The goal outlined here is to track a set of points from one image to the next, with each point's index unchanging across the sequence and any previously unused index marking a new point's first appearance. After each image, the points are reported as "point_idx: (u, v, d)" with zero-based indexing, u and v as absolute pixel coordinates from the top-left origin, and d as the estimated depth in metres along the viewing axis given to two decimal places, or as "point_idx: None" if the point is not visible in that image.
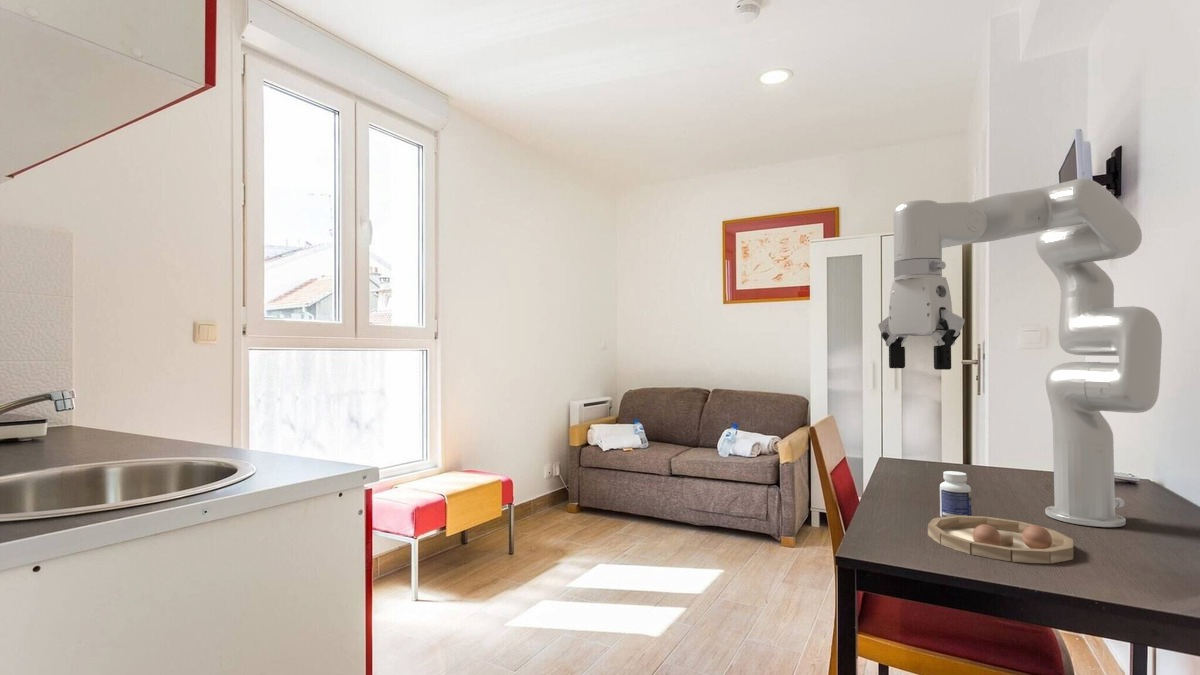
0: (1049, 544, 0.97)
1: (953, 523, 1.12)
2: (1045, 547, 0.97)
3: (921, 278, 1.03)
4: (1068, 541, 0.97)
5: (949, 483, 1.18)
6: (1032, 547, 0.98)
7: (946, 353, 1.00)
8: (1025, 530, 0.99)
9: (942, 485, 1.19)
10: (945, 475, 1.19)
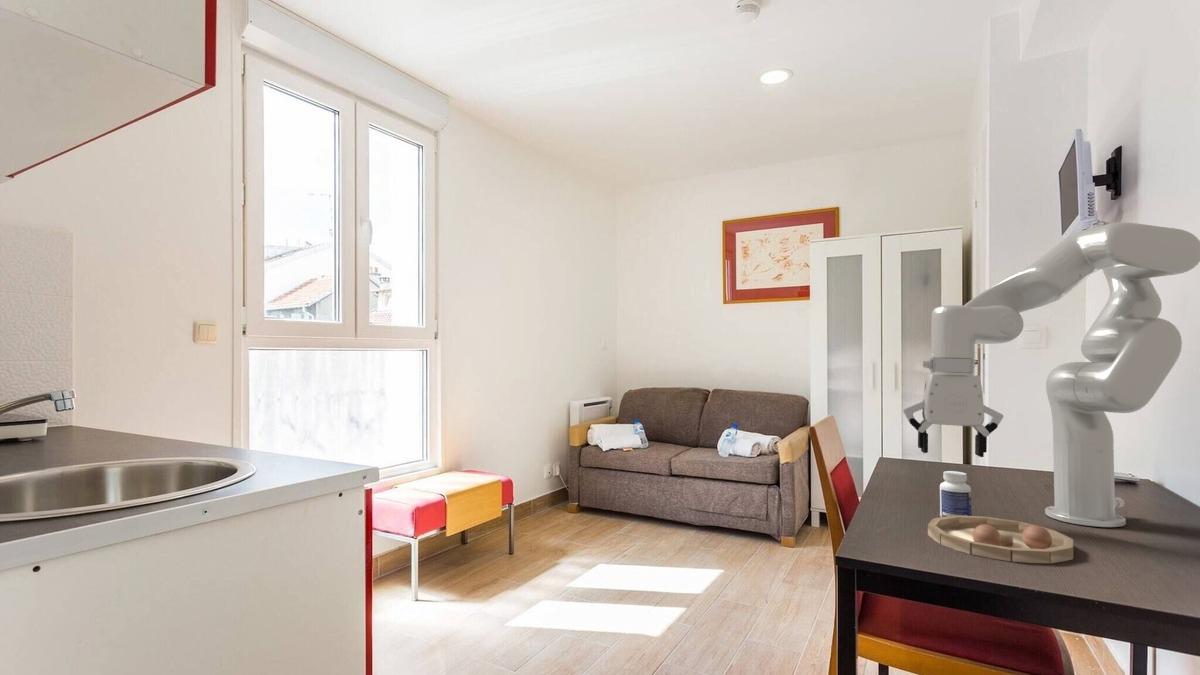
0: (1049, 544, 0.97)
1: (953, 523, 1.12)
2: (1045, 547, 0.97)
3: None
4: (1068, 541, 0.97)
5: (949, 483, 1.18)
6: (1032, 547, 0.98)
7: (918, 437, 1.21)
8: (1025, 530, 0.99)
9: (942, 485, 1.19)
10: (945, 475, 1.19)
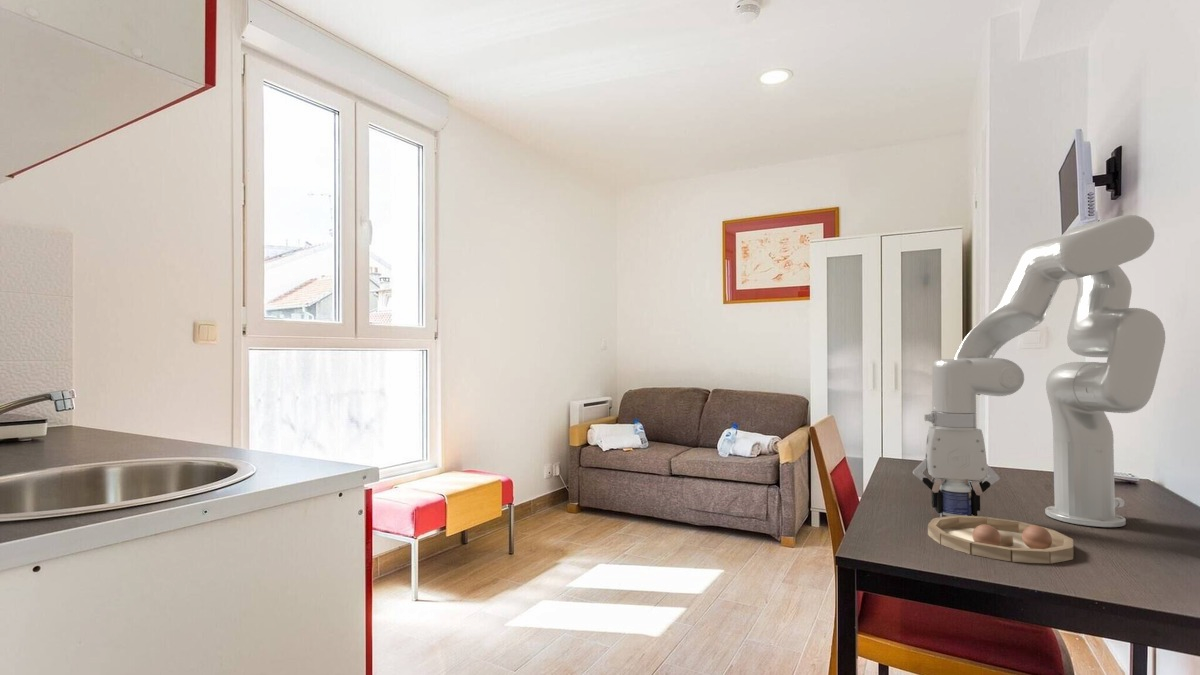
0: (1049, 544, 0.97)
1: (953, 523, 1.12)
2: (1045, 547, 0.97)
3: None
4: (1068, 541, 0.97)
5: (949, 483, 1.18)
6: (1032, 547, 0.98)
7: (932, 497, 1.20)
8: (1025, 530, 0.99)
9: (942, 485, 1.19)
10: None
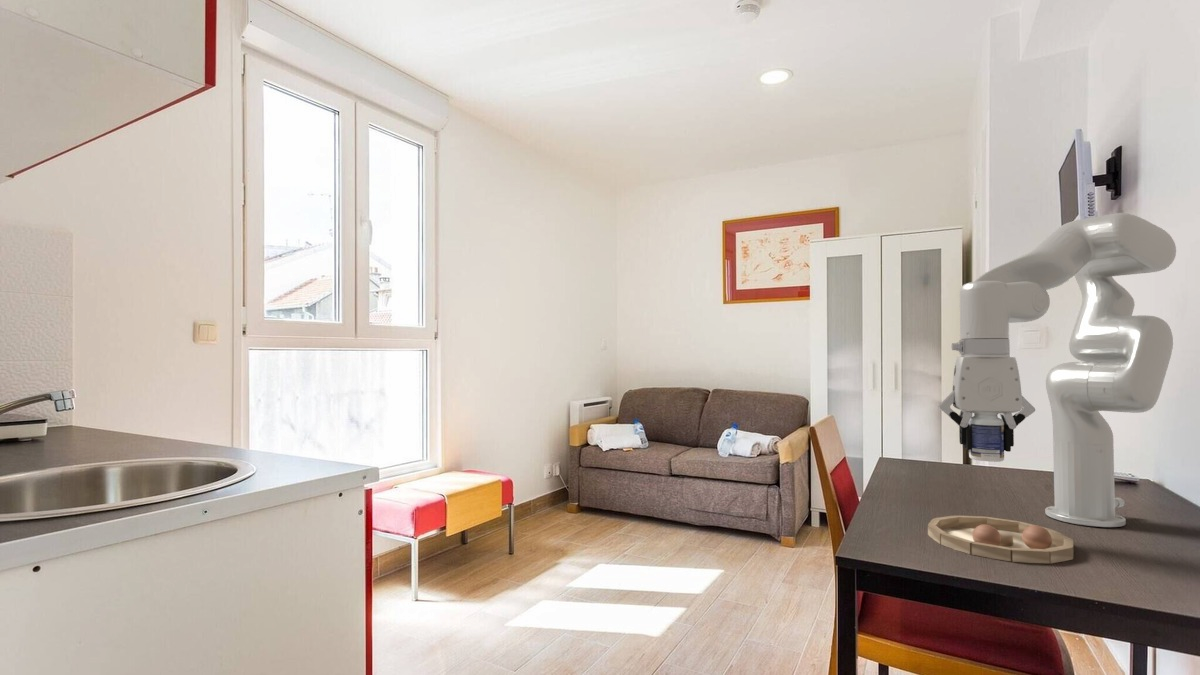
0: (1049, 544, 0.97)
1: (953, 523, 1.12)
2: (1045, 547, 0.97)
3: None
4: (1068, 541, 0.97)
5: (979, 416, 1.08)
6: (1032, 547, 0.98)
7: (960, 433, 1.10)
8: (1025, 530, 0.99)
9: (971, 419, 1.09)
10: None
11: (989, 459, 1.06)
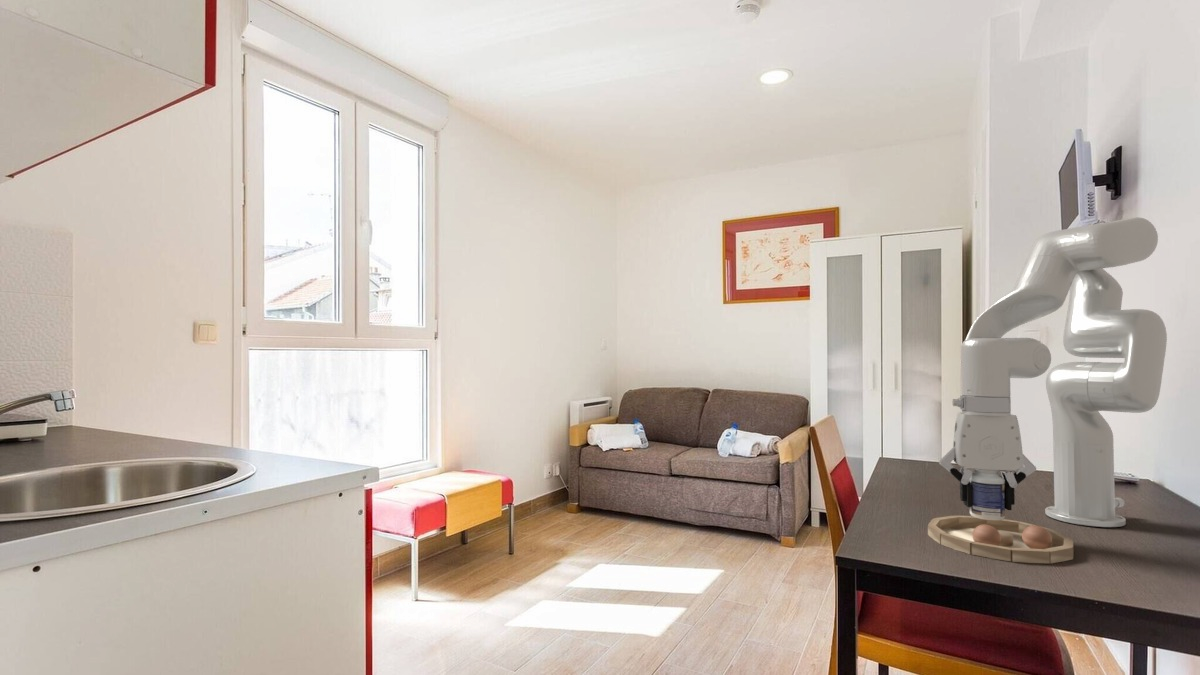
0: (1049, 544, 0.97)
1: (953, 523, 1.12)
2: (1045, 547, 0.97)
3: None
4: (1068, 541, 0.97)
5: (980, 474, 1.08)
6: (1032, 547, 0.98)
7: (961, 489, 1.10)
8: (1025, 530, 0.99)
9: (972, 476, 1.08)
10: None
11: (990, 518, 1.06)
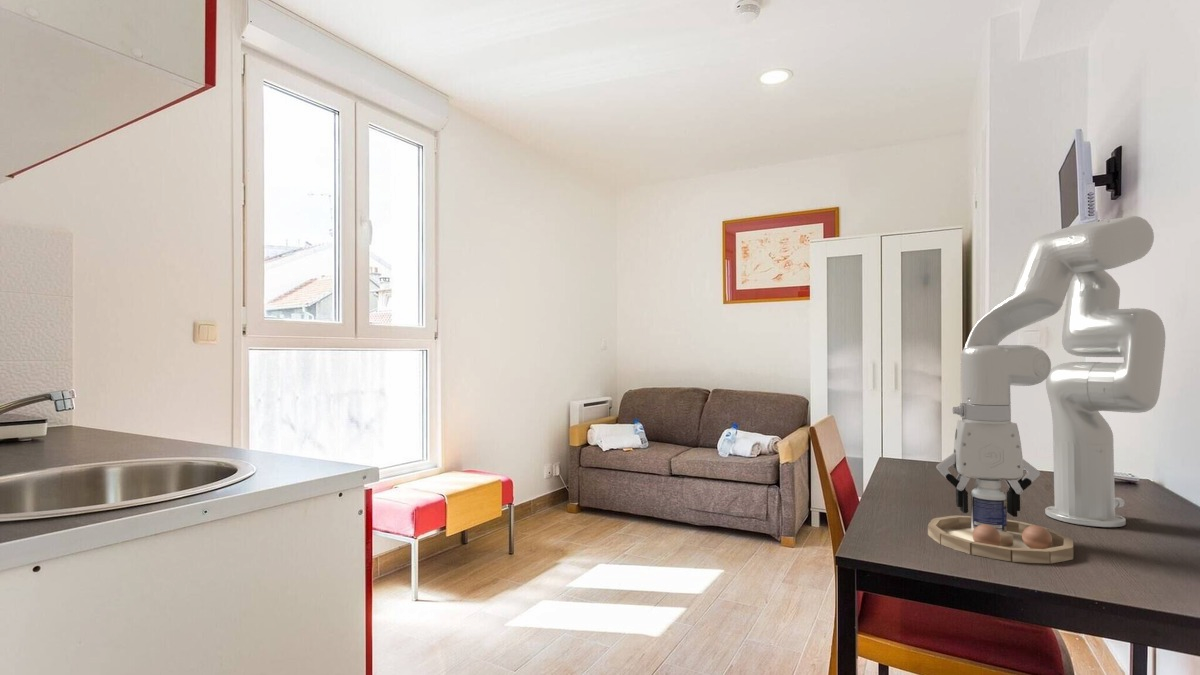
0: (1049, 544, 0.97)
1: (953, 523, 1.12)
2: (1045, 547, 0.97)
3: None
4: (1068, 541, 0.97)
5: (981, 489, 1.08)
6: (1032, 547, 0.98)
7: (957, 495, 1.10)
8: (1025, 530, 0.99)
9: (974, 492, 1.09)
10: (977, 481, 1.08)
11: None
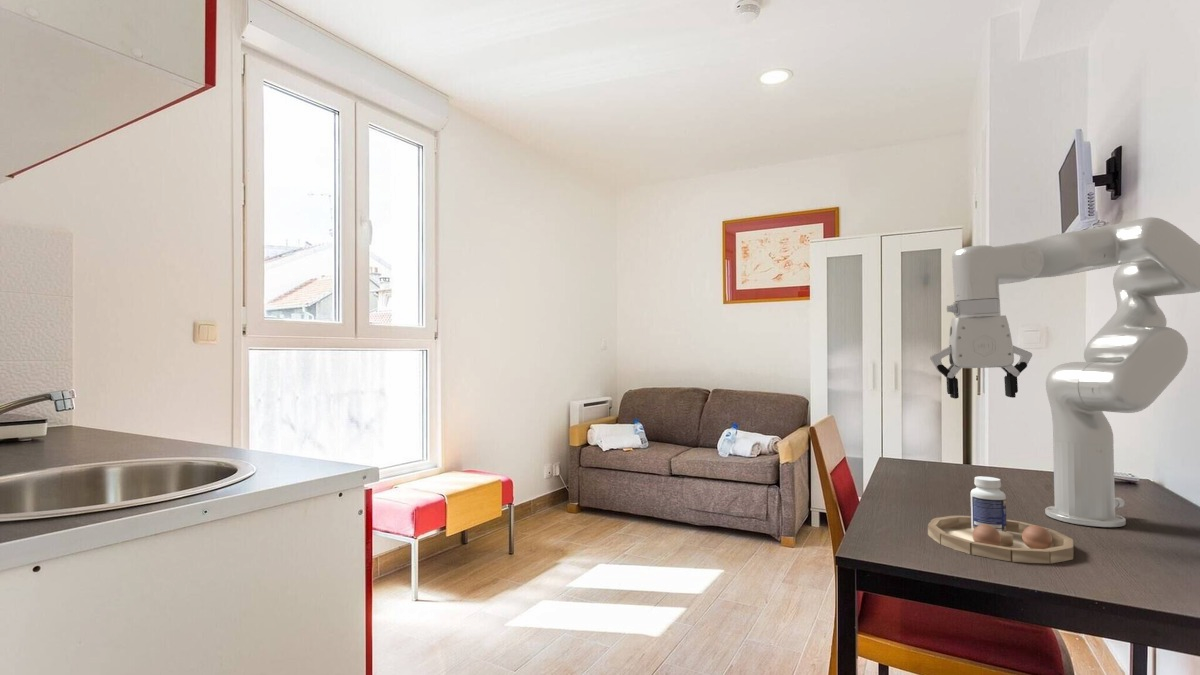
0: (1049, 544, 0.97)
1: (953, 523, 1.12)
2: (1045, 547, 0.97)
3: None
4: (1068, 541, 0.97)
5: (981, 489, 1.08)
6: (1032, 547, 0.98)
7: (947, 383, 1.19)
8: (1025, 530, 0.99)
9: (973, 492, 1.09)
10: (976, 481, 1.09)
11: None
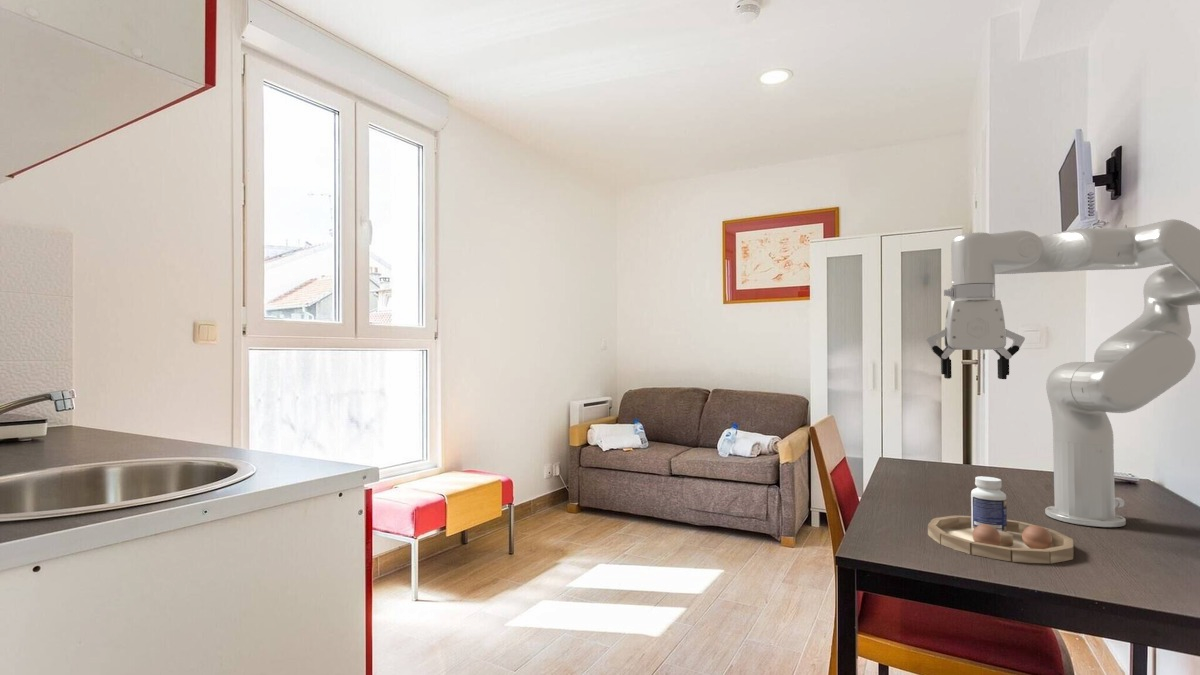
0: (1049, 544, 0.97)
1: (953, 523, 1.12)
2: (1045, 547, 0.97)
3: None
4: (1068, 541, 0.97)
5: (981, 489, 1.08)
6: (1032, 547, 0.98)
7: (941, 364, 1.24)
8: (1025, 530, 0.99)
9: (974, 492, 1.09)
10: (977, 481, 1.08)
11: None
